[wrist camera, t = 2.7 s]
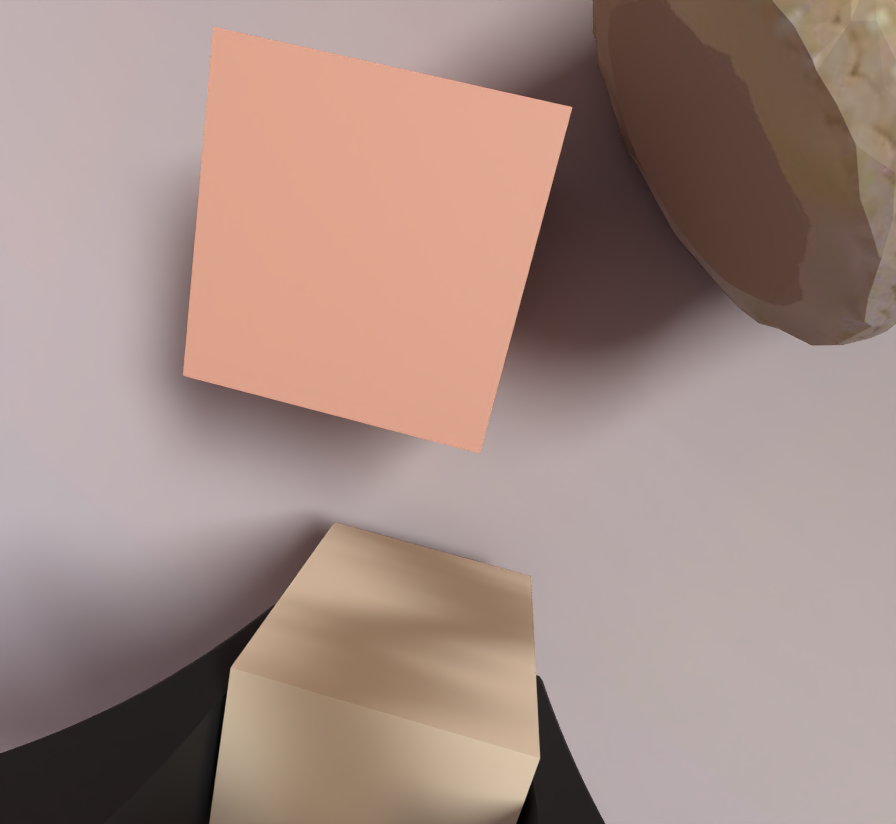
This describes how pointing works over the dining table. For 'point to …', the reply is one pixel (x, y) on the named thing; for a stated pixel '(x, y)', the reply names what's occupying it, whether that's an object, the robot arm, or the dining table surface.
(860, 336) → the decorative bottle
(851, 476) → the dining table surface
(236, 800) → the beech block
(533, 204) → the terracotta block
